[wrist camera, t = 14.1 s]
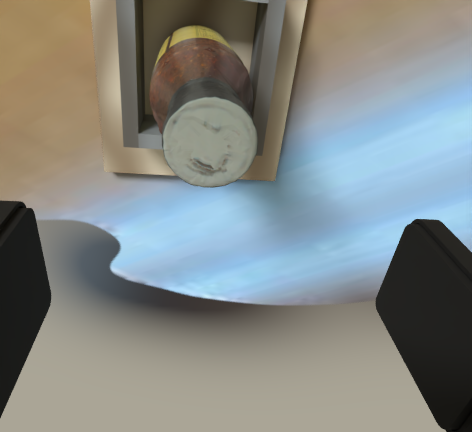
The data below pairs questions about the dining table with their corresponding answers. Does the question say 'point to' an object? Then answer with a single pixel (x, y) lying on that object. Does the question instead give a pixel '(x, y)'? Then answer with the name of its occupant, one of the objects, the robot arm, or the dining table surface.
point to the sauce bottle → (203, 108)
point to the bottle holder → (145, 56)
